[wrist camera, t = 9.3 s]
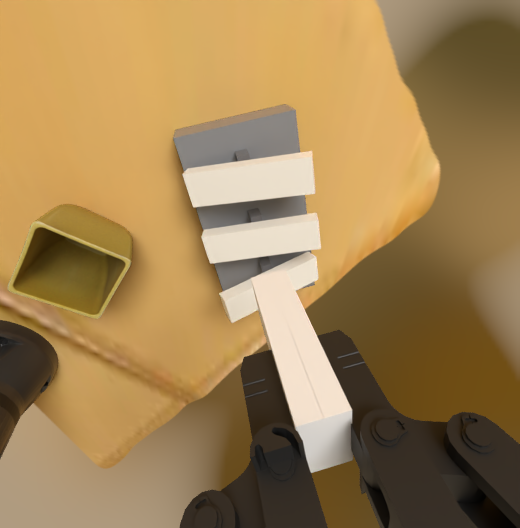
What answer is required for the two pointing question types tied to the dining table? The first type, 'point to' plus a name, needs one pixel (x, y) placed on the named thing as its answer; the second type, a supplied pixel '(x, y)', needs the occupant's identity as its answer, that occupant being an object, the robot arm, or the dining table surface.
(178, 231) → the dining table surface
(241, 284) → the bar
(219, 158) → the switch panel
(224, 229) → the bar
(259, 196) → the bar
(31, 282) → the flower pot
